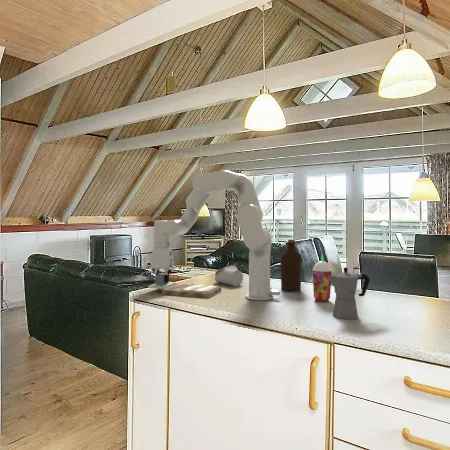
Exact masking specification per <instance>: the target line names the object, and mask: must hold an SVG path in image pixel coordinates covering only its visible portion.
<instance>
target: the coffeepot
mask: <svg viewBox="0 0 450 450" xmlns="http://www.w3.org/2000/svg"><path fill="white" fill-rule="evenodd" d="M348 270H349V269H348V267H343V272H338V273H334V274H332V275H330V276H328V277H327V278H329V279H330V280H331V285H332V286H333V288H334V293H335V301H334V305H333V310H332V316H333V318H337V319H340V320H356V319H358V318H359V317H358V316H359V314H358V309H357V301H356V293H357V287H358V281H359V280H364V282H363V287H362V288H361V293H358V297H364V296H365V295H366V292H367V289H368V286H369V283H370V281H371V280H370V277H369V276H368V275H367V274H366V273H351V272H348Z"/></svg>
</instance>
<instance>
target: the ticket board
mask: <svg viewBox="0 0 450 450" xmlns="http://www.w3.org/2000/svg"><path fill="white" fill-rule="evenodd" d="M221 292H222V286H219V285H205V284H194V283H192V284H186V283H185V284H182V283H181V284H179V283H176V284H174V285H172V286H169V287H167V288H164V289H161V295H166V296H176V297H177V296H180V297H190V298H191V297H193V298H207V299H210V298H212V297H214V296H216V295H217V294H219V293H221Z"/></svg>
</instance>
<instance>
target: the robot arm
mask: <svg viewBox="0 0 450 450" xmlns="http://www.w3.org/2000/svg"><path fill="white" fill-rule="evenodd" d="M224 190H225V191H233V192H236V194H237V200H238V203H239V207H238V210H237V212H236V219H237V223H238V226H239V230H240V233H241V237H242V240H243V243H244V244H245V246H246V248H248V249H249V253H248V254H249V255H248V256H249V257H248V293H245V298H246V299H248V300H252V301H270V300H272V299H274V296H281V295H280V294H281V293H280V292H281V291H280V290H276V289H273V288H272V286H271V251H272V236H271V233H270V231H269V230H268V229H267V228H265V227H263V225H262V221H263V217H264V214H263V211H262V207H261V204H260V201H259V198H258V195H257V193H256V189H255V186H254V184H253V182H252V180H251V179H250V178H249V177H248V176H247V175H245V174H242V173H237V172H234V171H230V170H217V171H213V172H208V173H203V174H199V175H197V176H195V177H194V179H193V180H192V190H191V192H190V194H189V195H188V196H187V197H186V199H185V203H186V208H185V211H184V213H183V214H182V215H181V216H180V218H179V219H171V220H170V219H169V220H166V219H158V220H157V219H156V220H155V221H154V223H153V236H154V237H153V239H154V240H153V241H154V243H153V245H154V246H153V248H152V253H151V263H150V265H149V267H148V268H149V269H150V270H151V271H152V272H153V273H154V278H155V279H154V280H155V281H156V274H160V270H161V269H163V270H164V273H165V275H164V283H168V282H170V274H171V273H172V272H173V271H174V270H176V266H175V264H174V256H173V254H174V253H173V249H172V246H173V243H172V242H171V239H170V238H171V236H173V237H174V236H182V235H185V234H186V233H188V232H189V230H190V229H192V227H193V226H194V225H195V223H196V222H197V219H198V217H199V215H200V213H201V210H202V209H203V207H204V206H205V205H206V203H208V201H209V199H210V198H211V197H212V195H214V193H215V192H218V191H224Z"/></svg>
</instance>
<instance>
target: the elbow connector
mask: <svg viewBox="0 0 450 450" xmlns="http://www.w3.org/2000/svg"><path fill="white" fill-rule="evenodd" d="M214 274H215V275H214V276H215V277H214V281H215V283H220V284H224V285H227V286H232V287H238V286H241V284H242V283H243V280H244V275H243V272H242V271H241V270H239V268H237V266H235V265H233V264H232V265H228V266H225V267H223V268H220V269H218V270H216V271H215V273H214Z"/></svg>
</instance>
